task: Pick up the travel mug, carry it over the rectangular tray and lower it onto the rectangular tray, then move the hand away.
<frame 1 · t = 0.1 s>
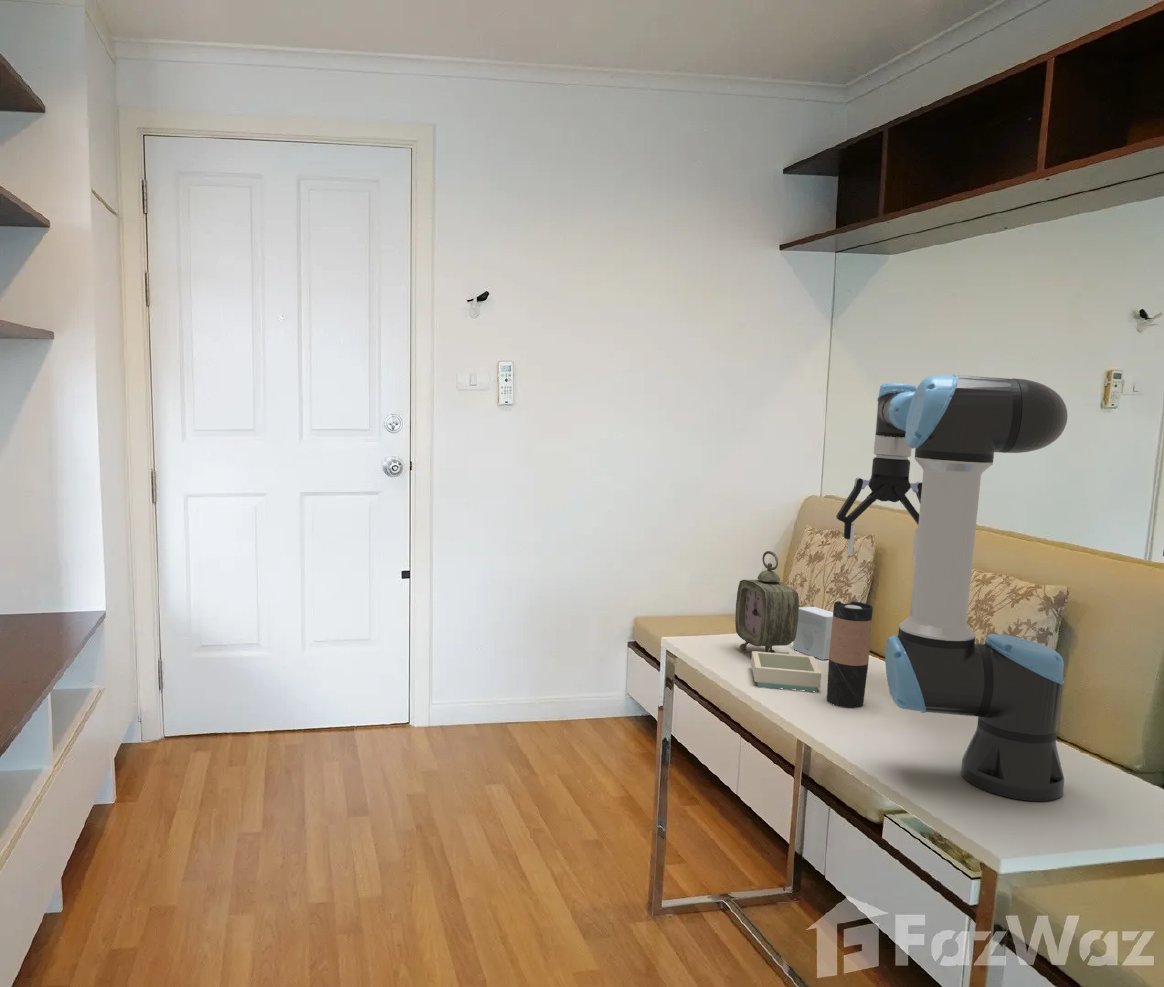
hand: (882, 557, 200), 28 cm above the table, tool pointing down, fingers open, 13 cm apart
skincare box: (816, 654, 226), on the table
tabletop clock: (763, 657, 221), on the table
travel mug: (844, 703, 190), on the table
rectangular tray: (783, 680, 203), on the table
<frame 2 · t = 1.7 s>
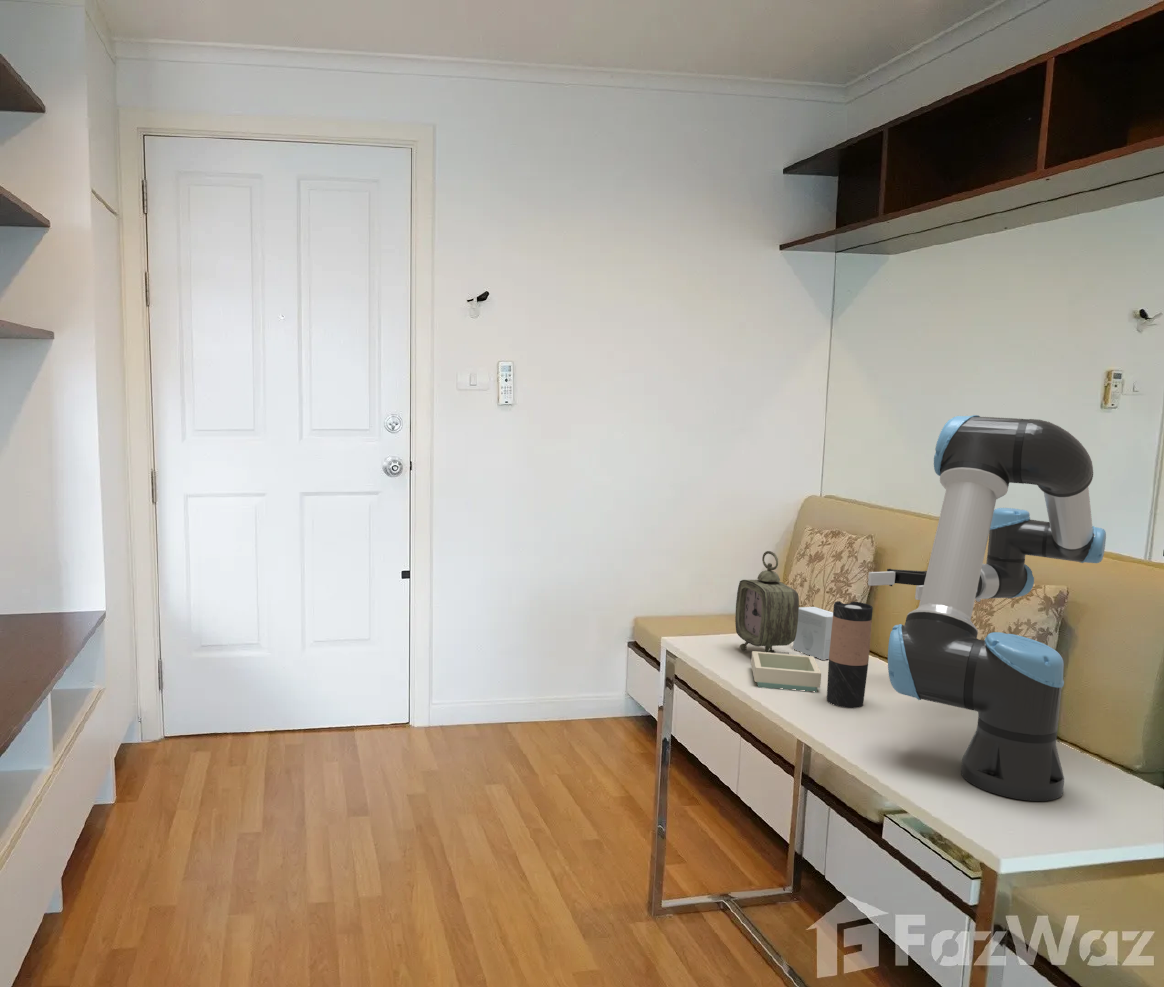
hand: (892, 585, 191), 24 cm above the table, tool horizontal, fingers open, 13 cm apart
nothing on the table moved.
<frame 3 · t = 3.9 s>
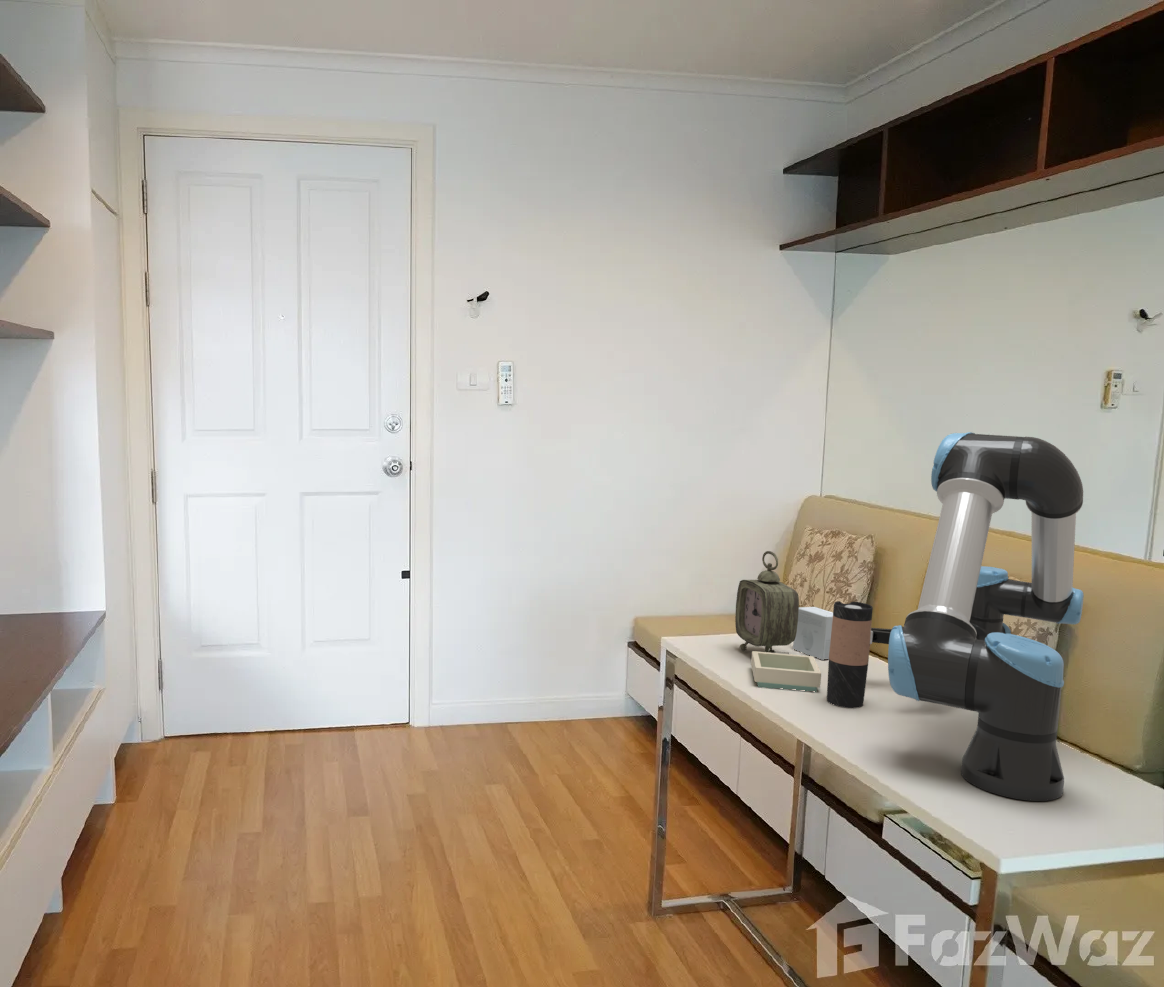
hand: (868, 647, 191), 11 cm above the table, tool horizontal, fingers open, 13 cm apart
nothing on the table moved.
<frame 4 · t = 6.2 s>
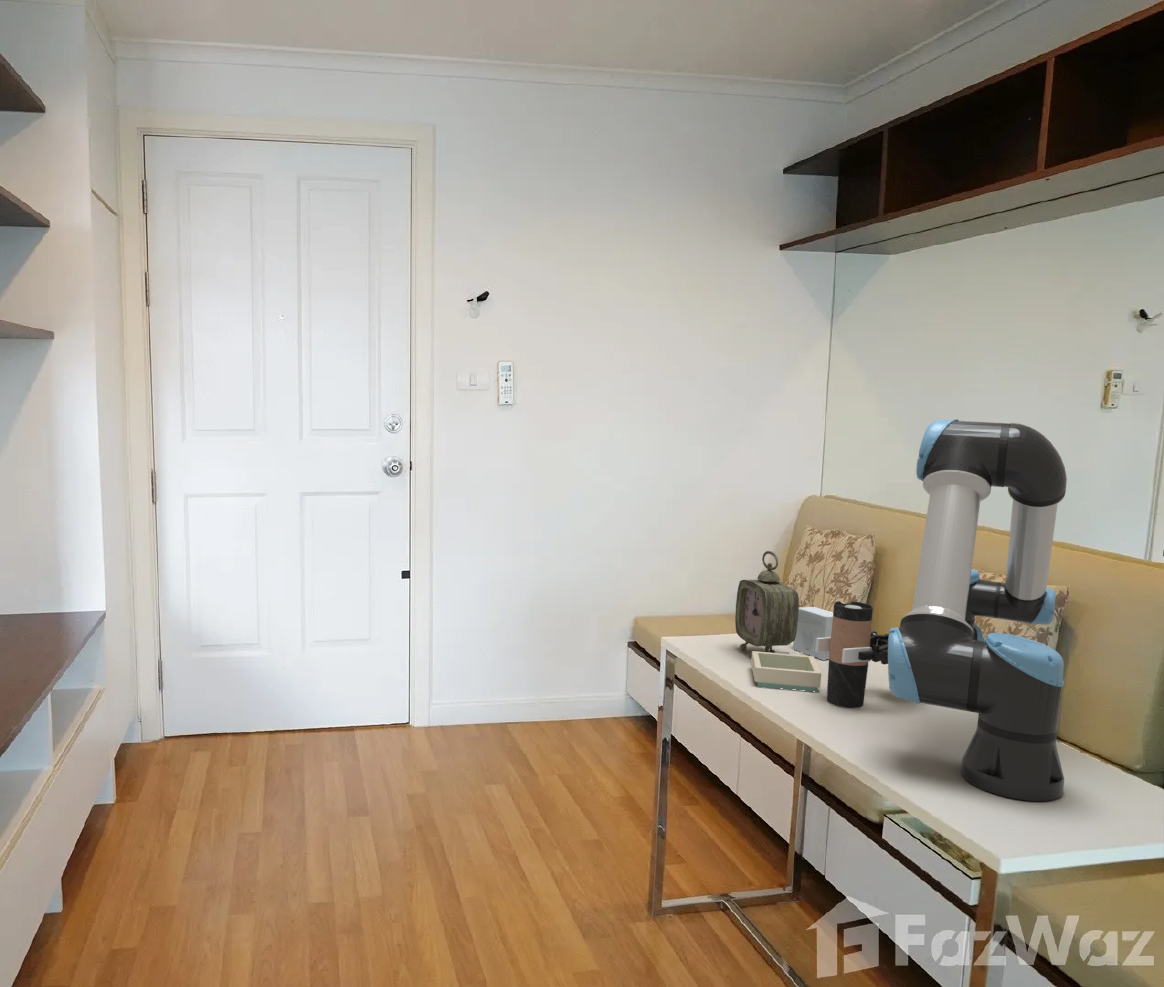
hand: (830, 650, 186), 11 cm above the table, tool horizontal, fingers closed on travel mug, 7 cm apart
travel mug: (844, 703, 190), on the table, touching gripper
everything else where it was.
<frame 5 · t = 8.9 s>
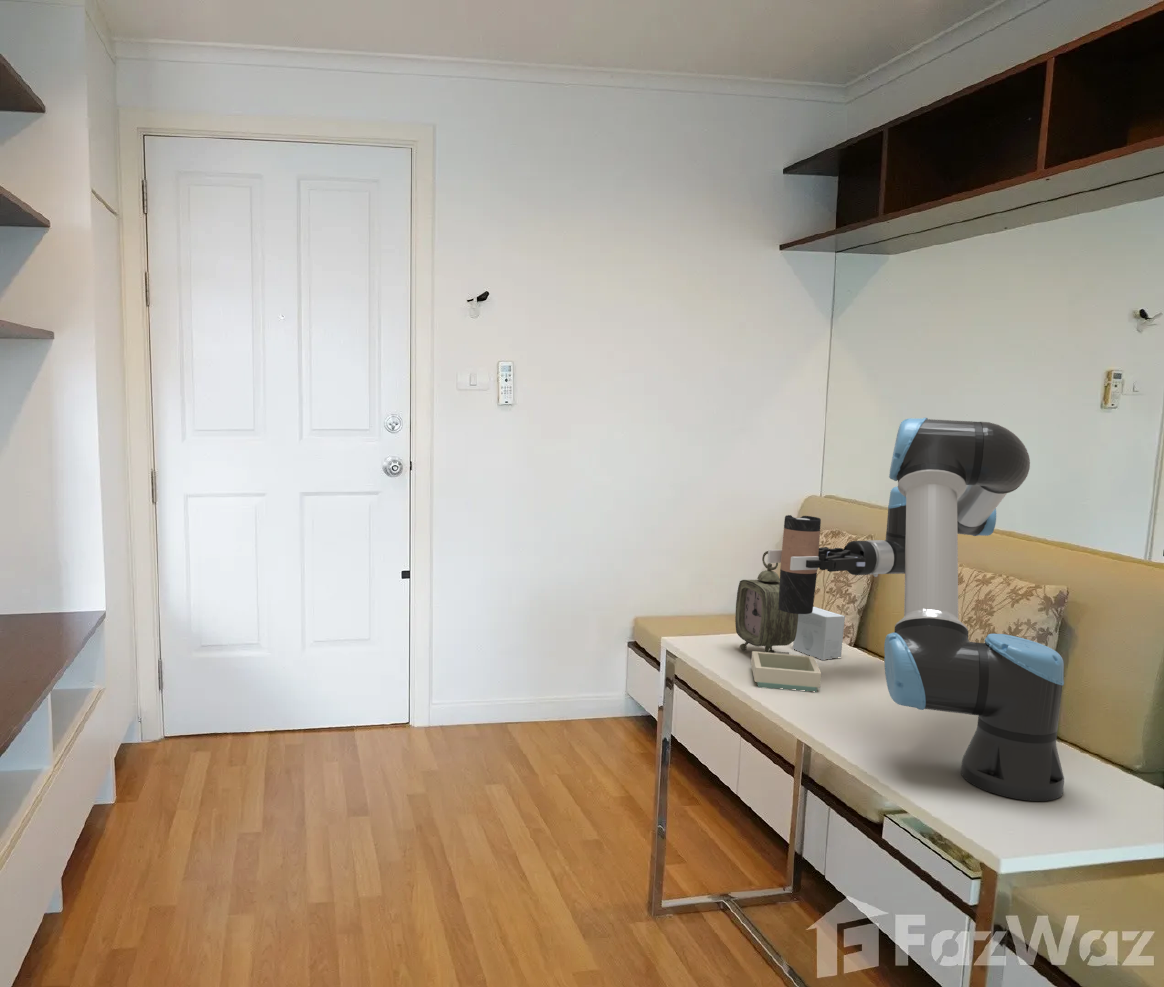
hand: (780, 559, 198), 26 cm above the table, tool horizontal, fingers closed on travel mug, 7 cm apart
travel mug: (795, 611, 201), point 15 cm above the table, touching gripper
everything else where it was.
when the fingers open (13 cm above the table, at t = 11.9 s): travel mug stays where it is, resting on rectangular tray.
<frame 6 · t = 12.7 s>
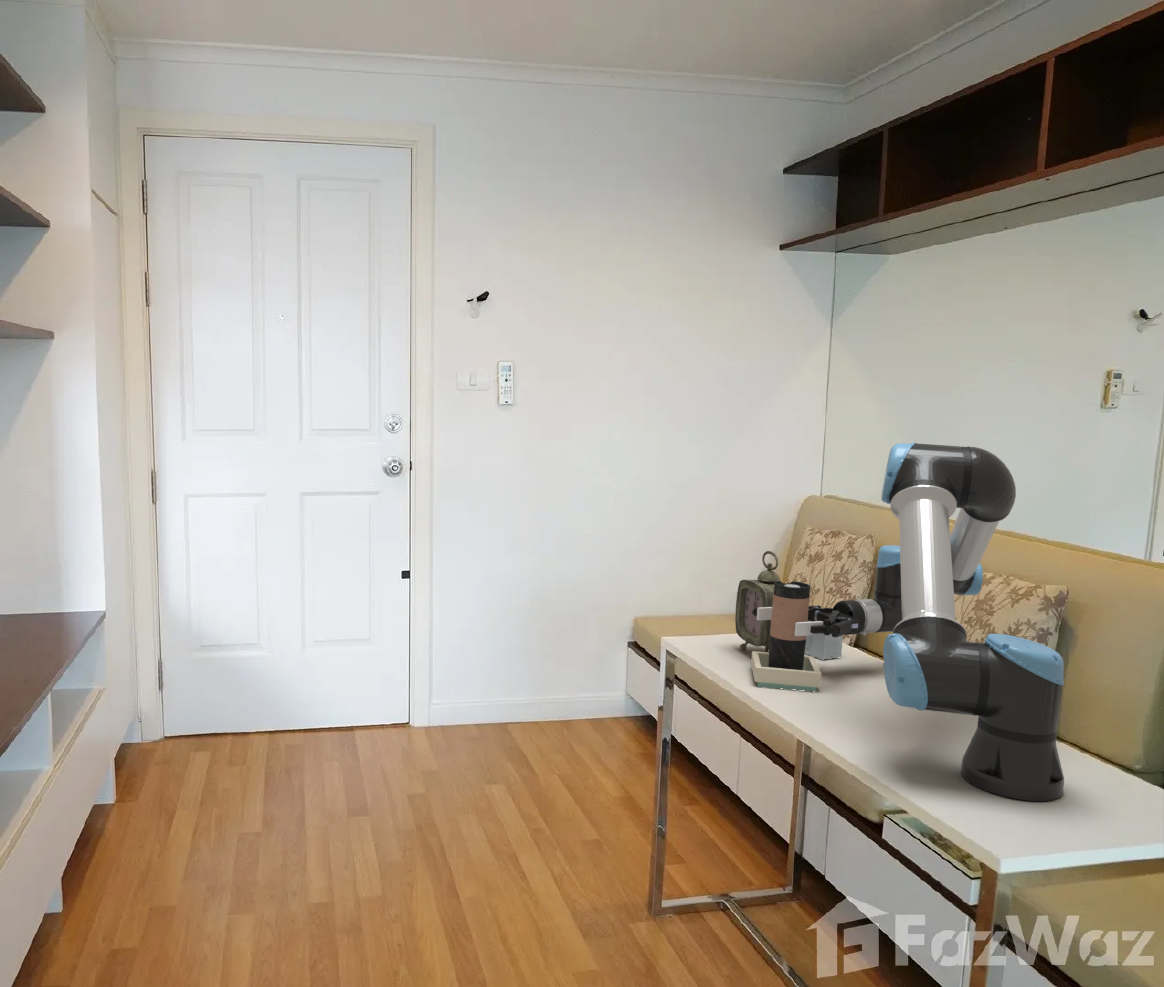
hand: (776, 621, 200), 13 cm above the table, tool horizontal, fingers open, 13 cm apart
travel mug: (784, 676, 203), point 1 cm above the table, touching rectangular tray
everything else where it was.
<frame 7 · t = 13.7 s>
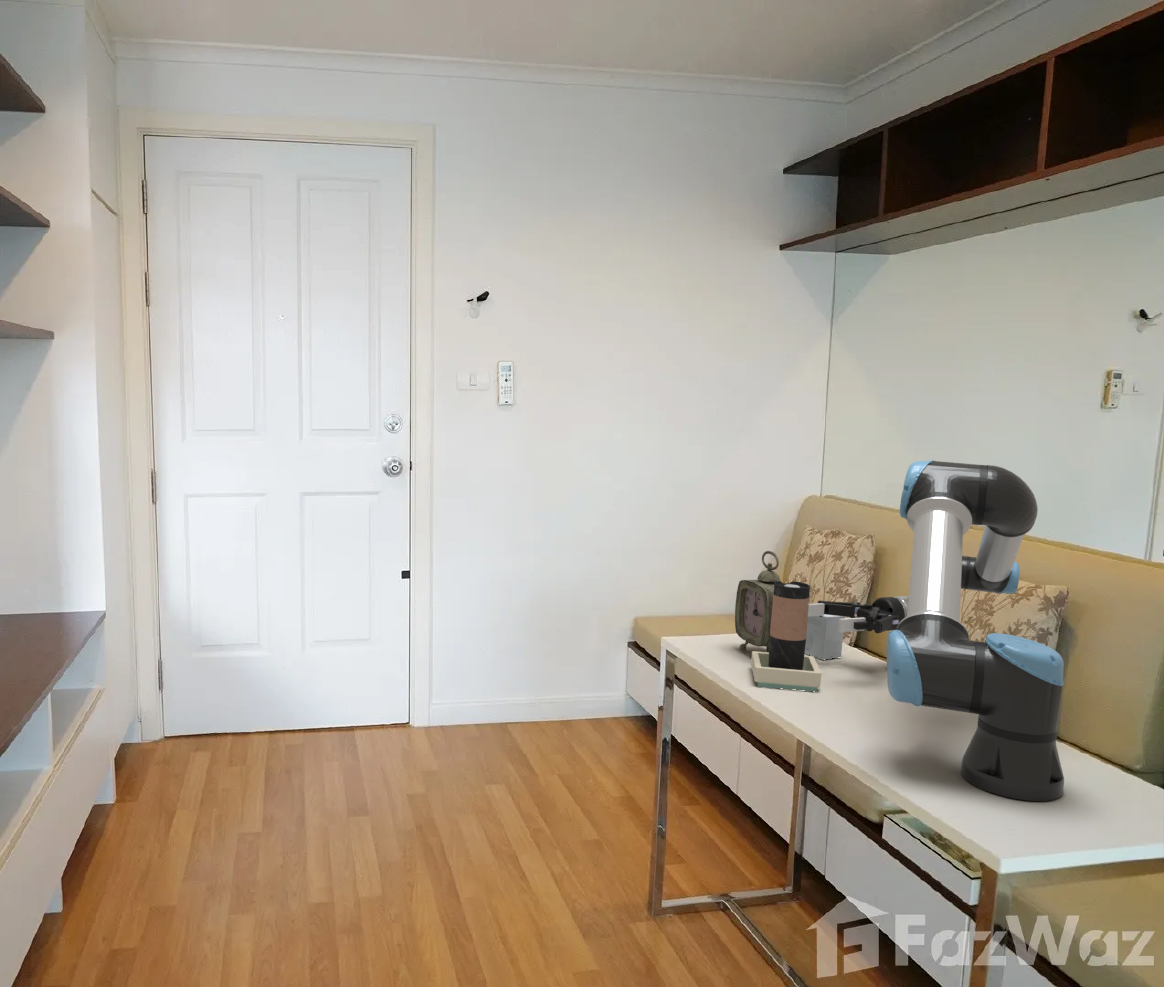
hand: (819, 617, 205), 13 cm above the table, tool horizontal, fingers open, 13 cm apart
nothing on the table moved.
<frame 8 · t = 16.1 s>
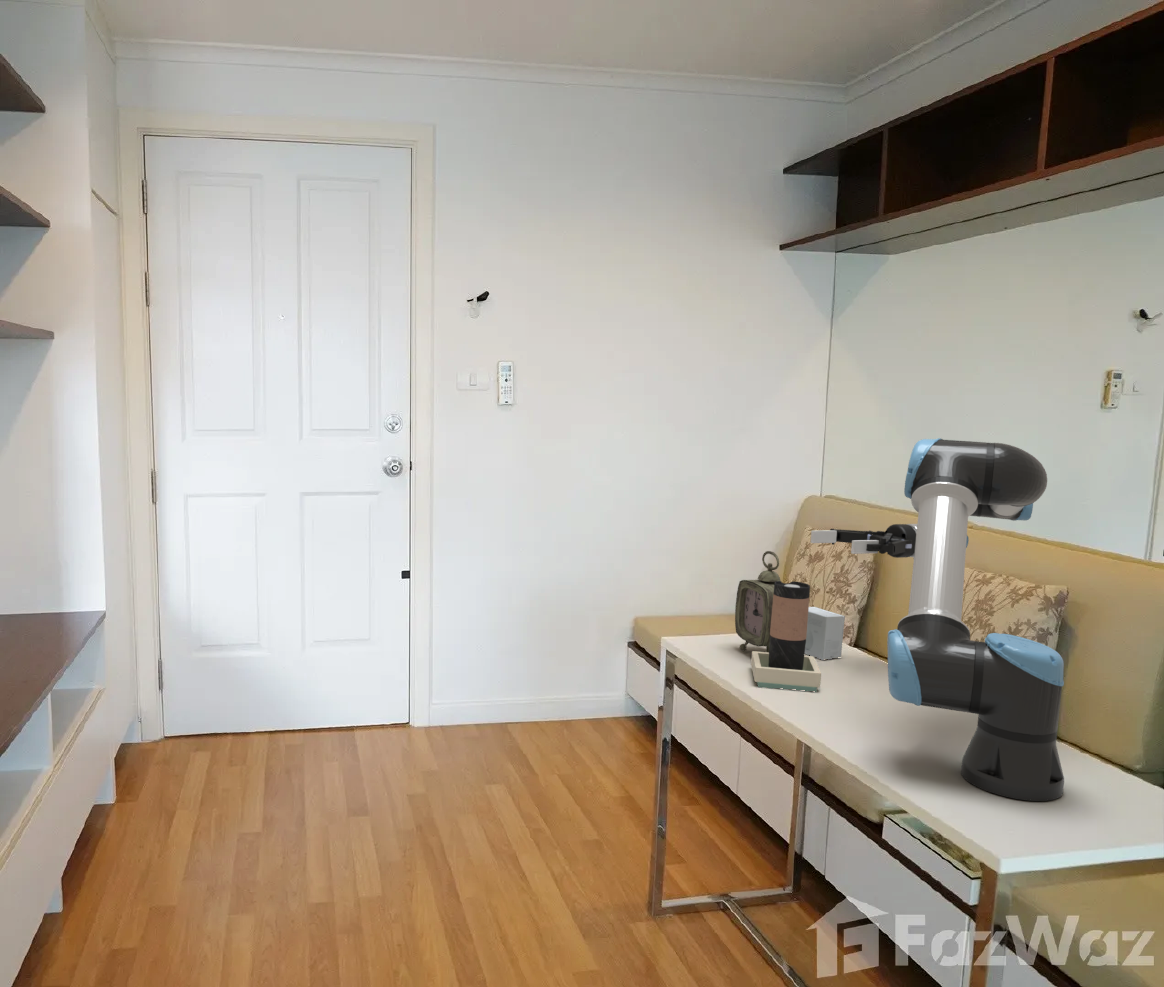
hand: (831, 541, 204), 30 cm above the table, tool horizontal, fingers open, 13 cm apart
nothing on the table moved.
at the end: travel mug inside the target area on the rectangular tray (0.1 cm from its centre), point 0.8 cm above the rectangular tray's base; travel mug tilted 0°; the gripper is holding nothing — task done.
